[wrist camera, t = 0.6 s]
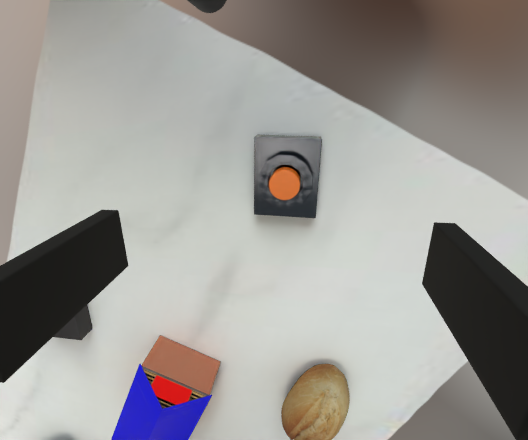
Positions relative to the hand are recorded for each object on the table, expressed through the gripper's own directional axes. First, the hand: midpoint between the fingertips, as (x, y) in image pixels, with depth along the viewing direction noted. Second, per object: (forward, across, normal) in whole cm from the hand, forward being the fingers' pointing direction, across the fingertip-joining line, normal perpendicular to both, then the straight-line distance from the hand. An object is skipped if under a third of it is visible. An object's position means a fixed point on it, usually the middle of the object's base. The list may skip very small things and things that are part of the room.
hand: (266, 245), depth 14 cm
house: (+29, -21, -43) cm, 56 cm away
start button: (+26, -1, -4) cm, 26 cm away
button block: (+29, -1, -4) cm, 29 cm away
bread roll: (+29, +4, -41) cm, 51 cm away
